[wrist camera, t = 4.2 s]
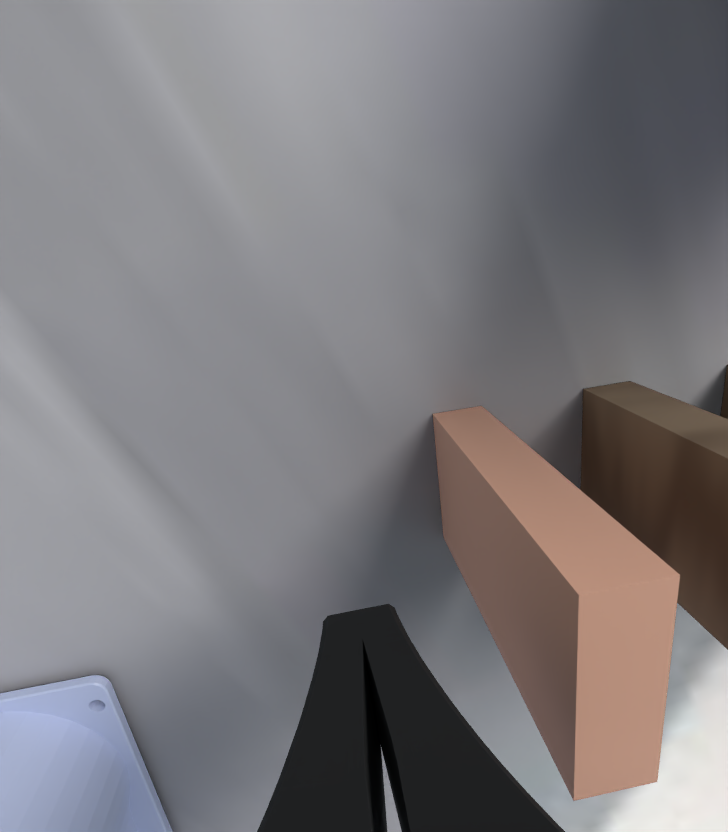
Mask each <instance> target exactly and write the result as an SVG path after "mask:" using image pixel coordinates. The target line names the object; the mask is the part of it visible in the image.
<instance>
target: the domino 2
mask: <svg viewBox="0 0 728 832" xmlns="http://www.w3.org/2000/svg"><path fill="white" fill-rule="evenodd" d="M581 491H582V492H583V493H584V494H586V495H587V496H588V497H589V498H590V499H592V500H593V501H594V502H595V503H596V504H597V505H599V506H600V507H601V508H602V509H603V510H604V511H606V512H607V513H608V514H609V515H610V516H611V517H613V518H614V519H615V520H616V521H617V522H619V523H620V524H621V525H622V526H623V527H624V528H626V529H627V530H628V531H629V532H630V533H631V534H633V535H634V536H635V537H636V538H637V539H638V540H640V541H641V542H642V543H643V544H644V545H646V546H647V547H648V548H649V549H650V550H651V551H653V552H654V553H655V554H656V555H657V556H658V557H660V558H661V559H662V560H663V561H664V562H665V563H667V564H668V565H669V566H670V567H671V568H673V569H674V570H675V571H676V572H677V573H678V574H680V581H679V590H678V599H677V603H678V604H679V605H680V606H682V607H683V608H684V609H685V610H686V611H687V612H688V613H689V614H690V615H691V616H692V617H693V618H694V619H696V620H697V621H698V622H699V623H700V624H701V625H702V626H703V627H704V628H705V629H706V630H707V631H708V632H709V633H711V634H712V635H713V636H714V637H715V638H716V639H717V640H718V641H719V642H720V643H721V644H722V645H723V646H724V647H726V648H727V649H728V419H726V418H723V417H721V416H718V415H716V414H713V413H711V412H708V411H705V410H703V409H700V408H698V407H695V406H693V405H690V404H687V403H685V402H682V401H680V400H677V399H675V398H672V397H670V396H667V395H664V394H662V393H659V392H657V391H654V390H652V389H649V388H646V387H644V386H641V385H639V384H636V383H634V382H631V381H628V382H622V383H616V384H610V385H604V386H598V387H592V388H586V389H583V418H582V459H581Z"/></svg>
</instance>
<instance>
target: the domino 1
mask: <svg viewBox="0 0 728 832" xmlns="http://www.w3.org/2000/svg"><path fill="white" fill-rule="evenodd" d="M433 424H434V435H435V446H436V458H437V469H438V480H439V492H440V503H441V514H442V526H443V537H444V539H445V541H446V543H447V545H448V547H449V549H450V551H451V553H452V556H453V558H454V560H455V562H456V564H457V566H458V568H459V570H460V572H461V574H462V576H463V578H464V580H465V582H466V584H467V586H468V588H469V590H470V592H471V594H472V596H473V598H474V600H475V602H476V604H477V606H478V608H479V610H480V612H481V614H482V616H483V618H484V620H485V622H486V624H487V626H488V628H489V630H490V632H491V634H492V636H493V639H494V641H495V643H496V645H497V647H498V649H499V651H500V653H501V655H502V657H503V659H504V661H505V663H506V665H507V667H508V669H509V671H510V673H511V675H512V677H513V679H514V681H515V683H516V685H517V687H518V689H519V691H520V693H521V695H522V697H523V699H524V701H525V703H526V705H527V707H528V709H529V711H530V713H531V715H532V717H533V719H534V721H535V724H536V726H537V728H538V730H539V732H540V734H541V736H542V738H543V740H544V742H545V744H546V746H547V748H548V750H549V752H550V754H551V756H552V758H553V760H554V762H555V764H556V766H557V768H558V770H559V772H560V774H561V776H562V778H563V780H564V782H565V784H566V786H567V788H568V790H569V792H570V794H571V796H572V798H573V800H574V801H575V800H580V799H584V798H588V797H593V796H597V795H602V794H606V793H610V792H615V791H619V790H623V789H628V788H632V787H636V786H641V785H645V784H649V783H654V782H657V779H658V770H659V761H660V752H661V743H662V734H663V725H664V716H665V707H666V698H667V689H668V680H669V671H670V662H671V653H672V644H673V635H674V626H675V617H676V608H677V599H678V590H679V581H680V574H678V573H677V572H676V571H675V570H674V569H673V568H671V567H670V566H669V565H668V564H667V563H665V562H664V561H663V560H662V559H661V558H660V557H658V556H657V555H656V554H655V553H654V552H653V551H651V550H650V549H649V548H648V547H647V546H646V545H644V544H643V543H642V542H641V541H640V540H638V539H637V538H636V537H635V536H634V535H633V534H631V533H630V532H629V531H628V530H627V529H626V528H624V527H623V526H622V525H621V524H620V523H619V522H617V521H616V520H615V519H614V518H613V517H611V516H610V515H609V514H608V513H607V512H606V511H604V510H603V509H602V508H601V507H600V506H599V505H597V504H596V503H595V502H594V501H593V500H592V499H590V498H589V497H588V496H587V495H586V494H584V493H583V492H582V491H581V490H580V489H579V488H577V487H576V486H575V485H574V484H573V483H572V482H570V481H569V480H568V479H567V478H566V477H565V476H563V475H562V474H561V473H560V472H559V471H557V470H556V469H555V468H554V467H553V466H552V465H550V464H549V463H548V462H547V461H546V460H545V459H543V458H542V457H541V456H540V455H539V454H538V453H536V452H535V451H534V450H533V449H532V448H530V447H529V446H528V445H527V444H526V443H525V442H523V441H522V440H521V439H520V438H519V437H518V436H516V435H515V434H514V433H513V432H512V431H511V430H509V429H508V428H507V427H506V426H505V425H503V424H502V423H501V422H500V421H499V420H498V419H496V418H495V417H494V416H493V415H492V414H491V413H489V412H488V411H487V410H486V409H485V408H484V407H482V406H478V407H472V408H466V409H460V410H454V411H448V412H442V413H436V414H433Z"/></svg>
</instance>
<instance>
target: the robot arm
mask: <svg viewBox="0 0 728 832" xmlns="http://www.w3.org/2000/svg"><path fill="white" fill-rule="evenodd" d="M98 700H100V701H98ZM381 747H382V751H383V756H384V760H385V764H386V768H387V772H388V776H389V780H390V785H391V789H392V793H393V797H394V801H395V805H396V809H397V813H398V817H399V822H400V826H401V830H402V832H565V831H564V830H563V829H562V828H561V827H560V826H559V825H558V824H557V823H556V822H555V821H554V820H553V819H552V818H551V817H550V816H549V815H548V814H547V813H546V812H545V811H544V809H543V808H542V807H541V806H540V805H539V804H538V803H537V802H536V801H535V800H534V799H533V798H532V797H531V796H530V795H529V794H528V793H527V792H526V790H525V789H524V788H523V787H522V786H521V785H520V784H519V783H518V782H517V780H516V779H515V778H514V777H513V776H512V775H511V774H510V773H509V772H508V770H507V769H506V768H505V767H504V766H503V765H502V764H501V762H500V761H499V760H498V759H497V758H496V757H495V755H494V754H493V753H492V752H491V751H490V750H489V748H488V747H487V746H486V745H485V744H484V742H483V741H482V740H481V739H480V737H479V736H478V735H477V734H476V732H475V731H474V730H473V729H472V727H471V726H470V725H469V724H468V722H467V721H466V720H465V719H464V717H463V716H462V715H461V713H460V712H459V711H458V709H457V708H456V707H455V705H454V704H453V703H452V701H451V700H450V699H449V697H448V696H447V695H446V693H445V692H444V690H443V689H442V687H441V686H440V685H439V683H438V682H437V680H436V679H435V677H434V676H433V675H432V673H431V672H430V670H429V669H428V667H427V666H426V664H425V663H424V661H423V660H422V658H421V657H420V655H419V653H418V652H417V650H416V648H415V647H414V645H413V643H412V642H411V640H410V638H409V636H408V635H407V633H406V631H405V629H404V627H403V625H402V623H401V621H400V619H399V617H398V615H397V613H396V610H395V608H394V607H393V606H391V605H389V604H386V605H381V606H376V607H371V608H365V609H360V610H355V611H350V612H345V613H340V614H335V615H329V616H327V618H326V619H325V620H324V621H323V630H322V636H321V642H320V648H319V653H318V657H317V661H316V665H315V669H314V673H313V678H312V681H311V685H310V688H309V691H308V695H307V698H306V702H305V705H304V708H303V712H302V715H301V718H300V721H299V724H298V728H297V730H296V733H295V736H294V739H293V742H292V744H291V747H290V750H289V753H288V756H287V758H286V761H285V764H284V767H283V770H282V772H281V775H280V778H279V780H278V783H277V785H276V788H275V790H274V793H273V795H272V798H271V800H270V803H269V805H268V808H267V810H266V813H265V815H264V817H263V820H262V822H261V824H260V827H259V829H258V831H257V832H387V822H386V809H385V796H384V782H383V769H382V756H381ZM0 832H173V831H172V829H171V827H170V824H169V822H168V819H167V817H166V814H165V812H164V810H163V807H162V805H161V802H160V800H159V798H158V795H157V793H156V790H155V788H154V785H153V783H152V781H151V778H150V776H149V773H148V771H147V769H146V766H145V764H144V761H143V759H142V756H141V754H140V752H139V749H138V747H137V744H136V742H135V739H134V737H133V735H132V732H131V730H130V727H129V725H128V723H127V720H126V718H125V715H124V713H123V710H122V708H121V706H120V703H119V701H118V698H117V696H116V694H115V691H114V689H113V686H112V684H111V682H110V681H109V680H108V679H107V678H105V677H104V676H100V675H92V676H87V677H82V678H77V679H71V680H66V681H61V682H56V683H51V684H46V685H41V686H36V687H31V688H26V689H20V690H15V691H10V692H5V693H0Z"/></svg>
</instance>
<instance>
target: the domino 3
mask: <svg viewBox="0 0 728 832" xmlns="http://www.w3.org/2000/svg"><path fill="white" fill-rule="evenodd" d="M721 417H723V418H726V419H728V365H727V370H726V377H725V385H724V393H723V401H722V408H721Z"/></svg>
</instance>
